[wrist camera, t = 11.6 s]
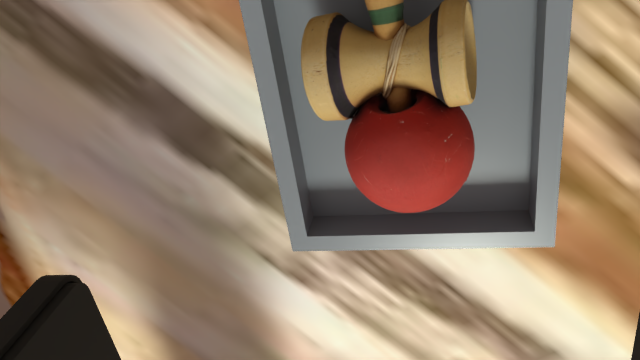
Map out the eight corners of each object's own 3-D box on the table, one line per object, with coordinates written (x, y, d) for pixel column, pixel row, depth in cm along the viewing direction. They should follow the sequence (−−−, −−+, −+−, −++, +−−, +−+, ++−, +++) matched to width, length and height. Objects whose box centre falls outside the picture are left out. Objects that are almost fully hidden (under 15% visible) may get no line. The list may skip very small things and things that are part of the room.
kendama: (254, -179, 24) (336, 197, 30) (227, -230, 18) (337, 252, 24) (432, -225, 23) (479, 170, 29) (466, -295, 17) (516, 221, 23)
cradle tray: (544, 216, 31) (554, 247, 28) (302, 223, 34) (292, 251, 31) (580, -359, 19) (601, -389, 17) (205, -268, 22) (178, -283, 20)
